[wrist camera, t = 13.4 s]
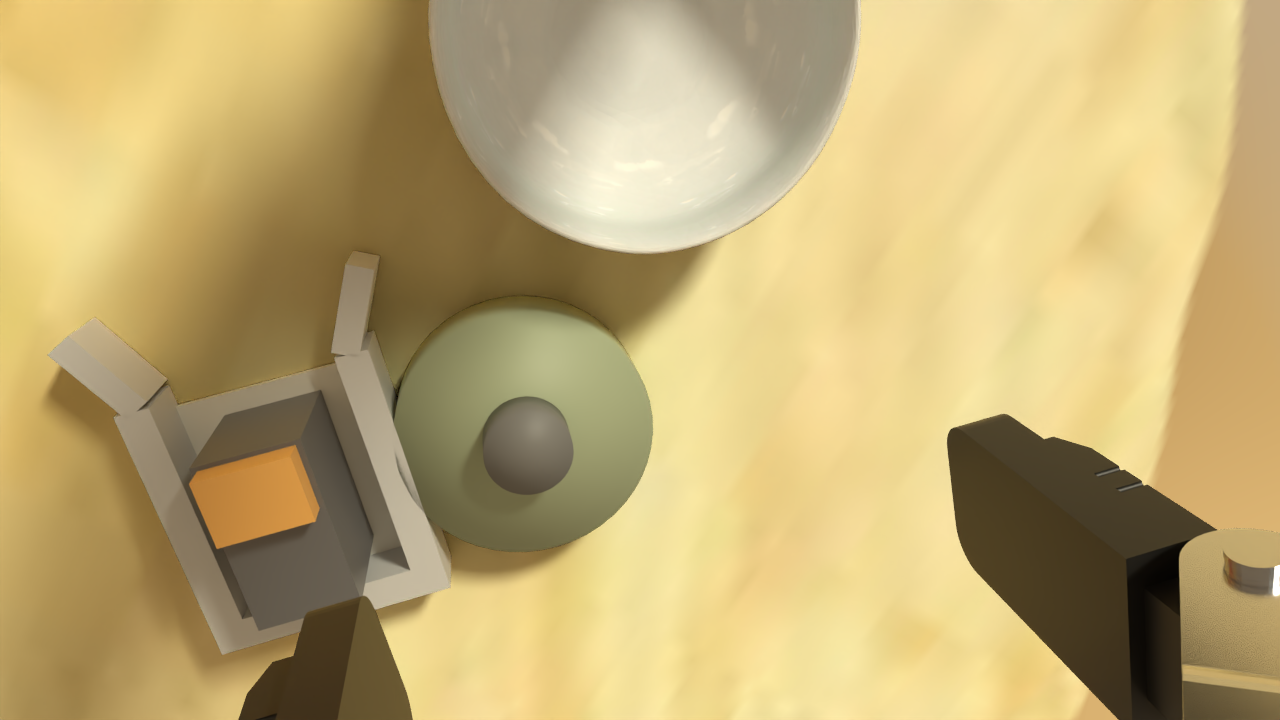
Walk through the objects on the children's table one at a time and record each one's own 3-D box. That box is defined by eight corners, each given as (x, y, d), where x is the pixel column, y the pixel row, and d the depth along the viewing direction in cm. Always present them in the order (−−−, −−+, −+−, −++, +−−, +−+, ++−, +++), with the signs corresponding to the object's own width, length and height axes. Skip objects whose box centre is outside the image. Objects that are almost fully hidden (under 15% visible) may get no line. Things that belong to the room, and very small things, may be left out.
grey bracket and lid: (70, 323, 41) (20, 357, 37) (591, 188, 44) (607, 204, 39) (209, 626, 47) (181, 690, 42) (666, 493, 49) (687, 540, 44)
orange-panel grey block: (224, 415, 43) (180, 481, 37) (321, 389, 44) (295, 450, 37) (283, 561, 46) (252, 647, 39) (373, 535, 47) (358, 616, 40)
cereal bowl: (476, -235, 38) (478, -296, 31) (848, -109, 42) (922, -140, 35) (401, 182, 42) (389, 205, 35) (744, 259, 46) (792, 293, 39)
